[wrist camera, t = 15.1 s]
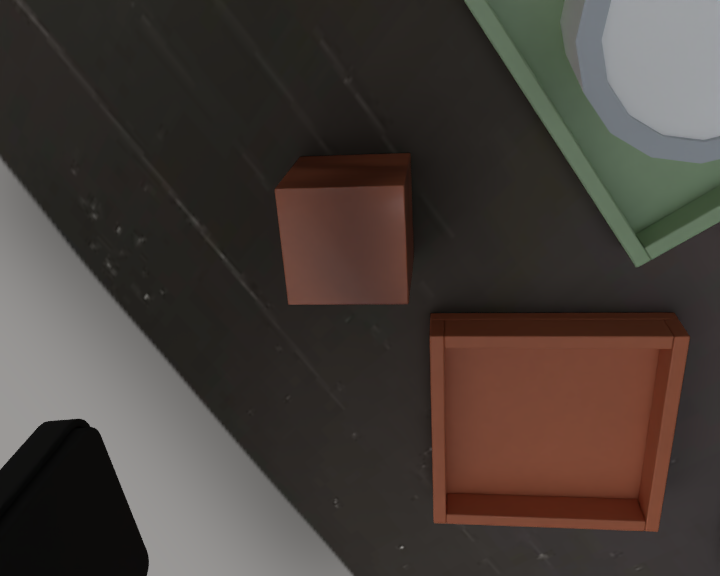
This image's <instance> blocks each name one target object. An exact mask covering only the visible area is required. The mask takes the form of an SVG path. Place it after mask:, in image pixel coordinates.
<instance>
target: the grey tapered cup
mask: <svg viewBox="0 0 720 576" xmlns="http://www.w3.org/2000/svg"><path fill="white" fill-rule="evenodd" d="M560 25H561V31H562V37H563V42H564V48H565V54H566V56H567V58H568V60H569V62H570V65H571V67H572V69H573V71H574V73H575V75H576V78H577V80H578V82H579V84H580V86H581V88H582V91H583V93H584V94H585V96H586V97H587V99H588V100H589V102H590V103H591V105H592V106H593V108H594V109H595V111H596V112H597V114H598V115H599V117H600V118H601V120H602V121H603V123H604V124H605V126H606V127H607V129H608V130H609V132H610V133H611V134H613V135H614V136H616V137H618V138H620V139H621V140H623V141H625V142H626V143H628V144H630V145H631V146H633V147H635V148H636V149H638V150H640V151H641V152H643V153H645V154H646V155H648V156H650V157H652V158H660V159H668V160H676V161H684V162H692V163H700V164H701V163H706V162H710V161H714V160H718V159H720V0H565V1H564V5H563V10H562V14H561V19H560Z"/></svg>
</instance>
